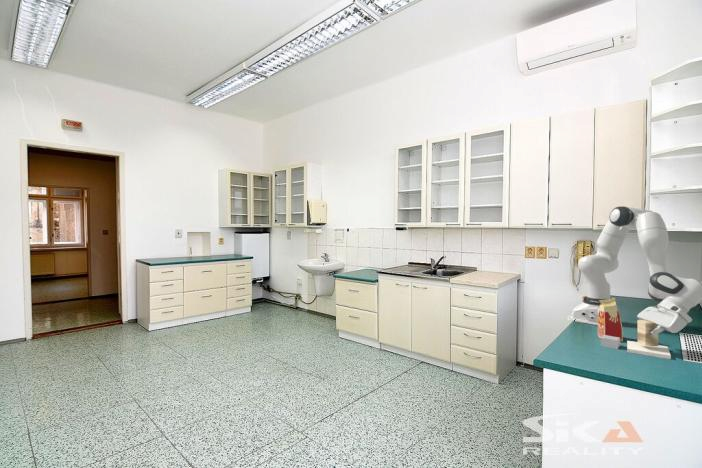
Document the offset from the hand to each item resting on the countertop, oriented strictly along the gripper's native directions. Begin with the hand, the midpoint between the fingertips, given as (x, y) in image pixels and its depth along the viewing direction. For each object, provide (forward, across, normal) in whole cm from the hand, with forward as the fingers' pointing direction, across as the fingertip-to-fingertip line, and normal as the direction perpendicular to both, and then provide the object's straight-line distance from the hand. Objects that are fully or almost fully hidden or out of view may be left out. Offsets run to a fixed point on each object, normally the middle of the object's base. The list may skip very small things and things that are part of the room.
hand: (645, 331), depth 153 cm
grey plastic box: (+14, -6, -2) cm, 15 cm away
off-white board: (+6, 0, +6) cm, 8 cm away
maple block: (+3, 0, +4) cm, 5 cm away
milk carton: (+9, -18, +3) cm, 21 cm away
